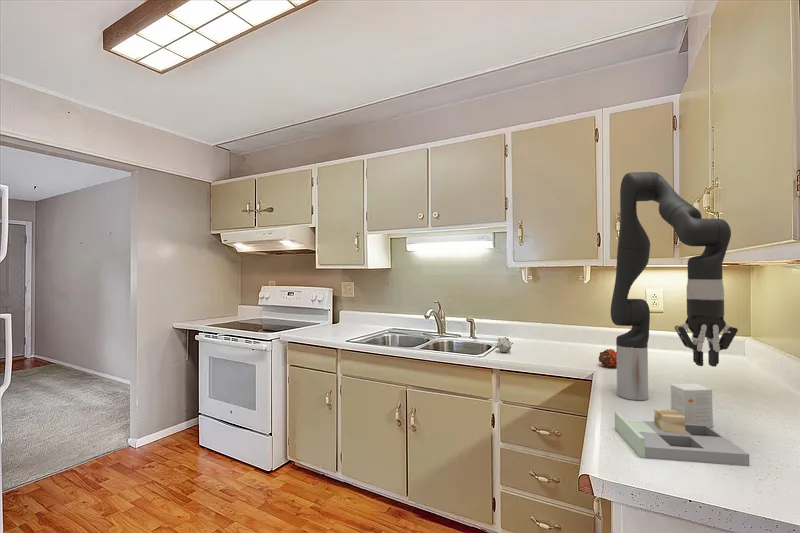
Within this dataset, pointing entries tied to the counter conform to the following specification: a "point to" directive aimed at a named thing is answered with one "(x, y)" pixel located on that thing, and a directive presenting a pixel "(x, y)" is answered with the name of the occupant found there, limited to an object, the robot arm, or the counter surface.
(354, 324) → the counter surface
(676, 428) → the block
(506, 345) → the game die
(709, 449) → the grey slotted tray
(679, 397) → the small box
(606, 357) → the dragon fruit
